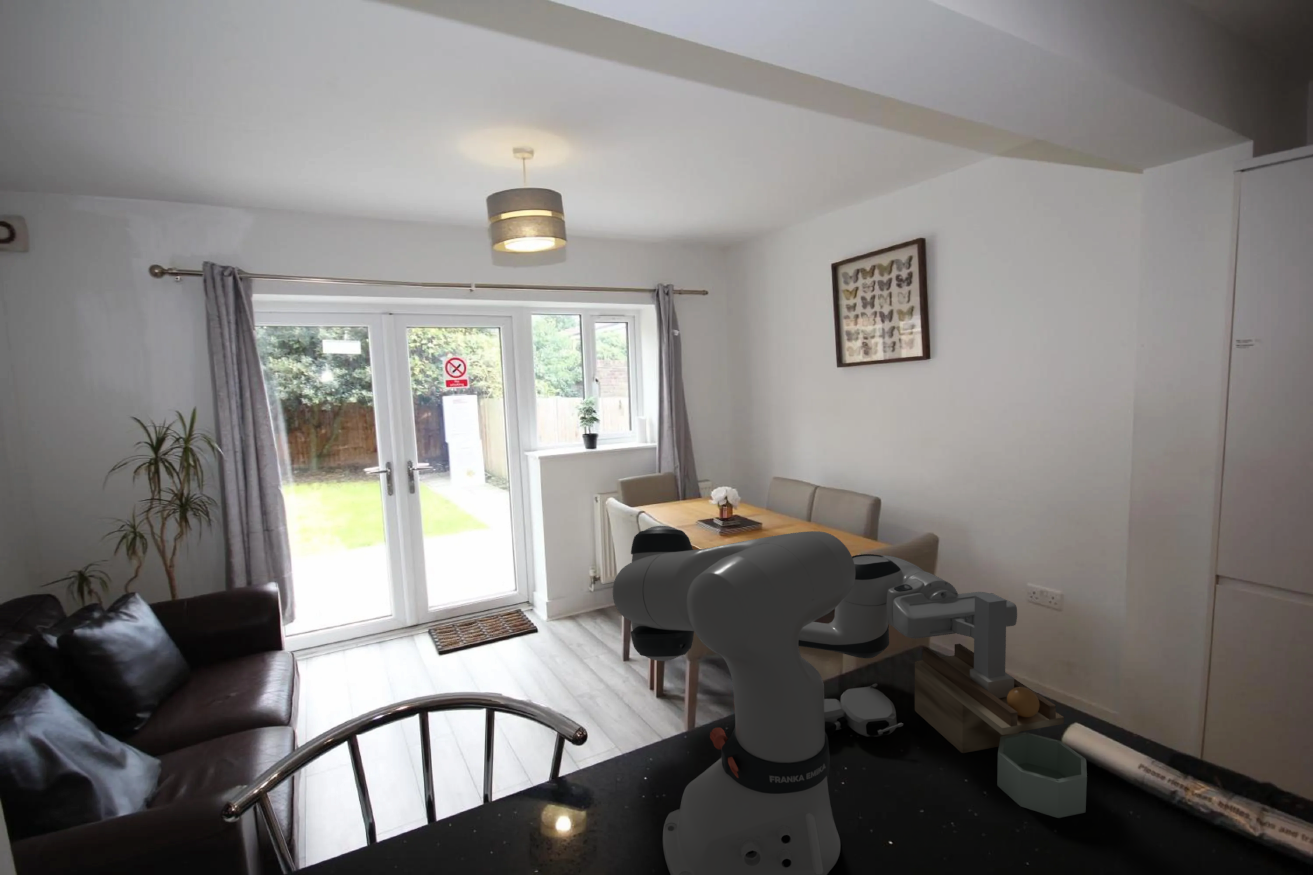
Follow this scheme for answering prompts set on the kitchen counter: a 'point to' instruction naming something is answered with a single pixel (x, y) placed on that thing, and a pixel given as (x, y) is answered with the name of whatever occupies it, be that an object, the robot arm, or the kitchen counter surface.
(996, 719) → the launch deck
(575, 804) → the kitchen counter surface
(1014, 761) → the green octagonal bowl
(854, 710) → the robot toy
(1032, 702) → the ball
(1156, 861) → the kitchen counter surface
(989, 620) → the tall post on base
